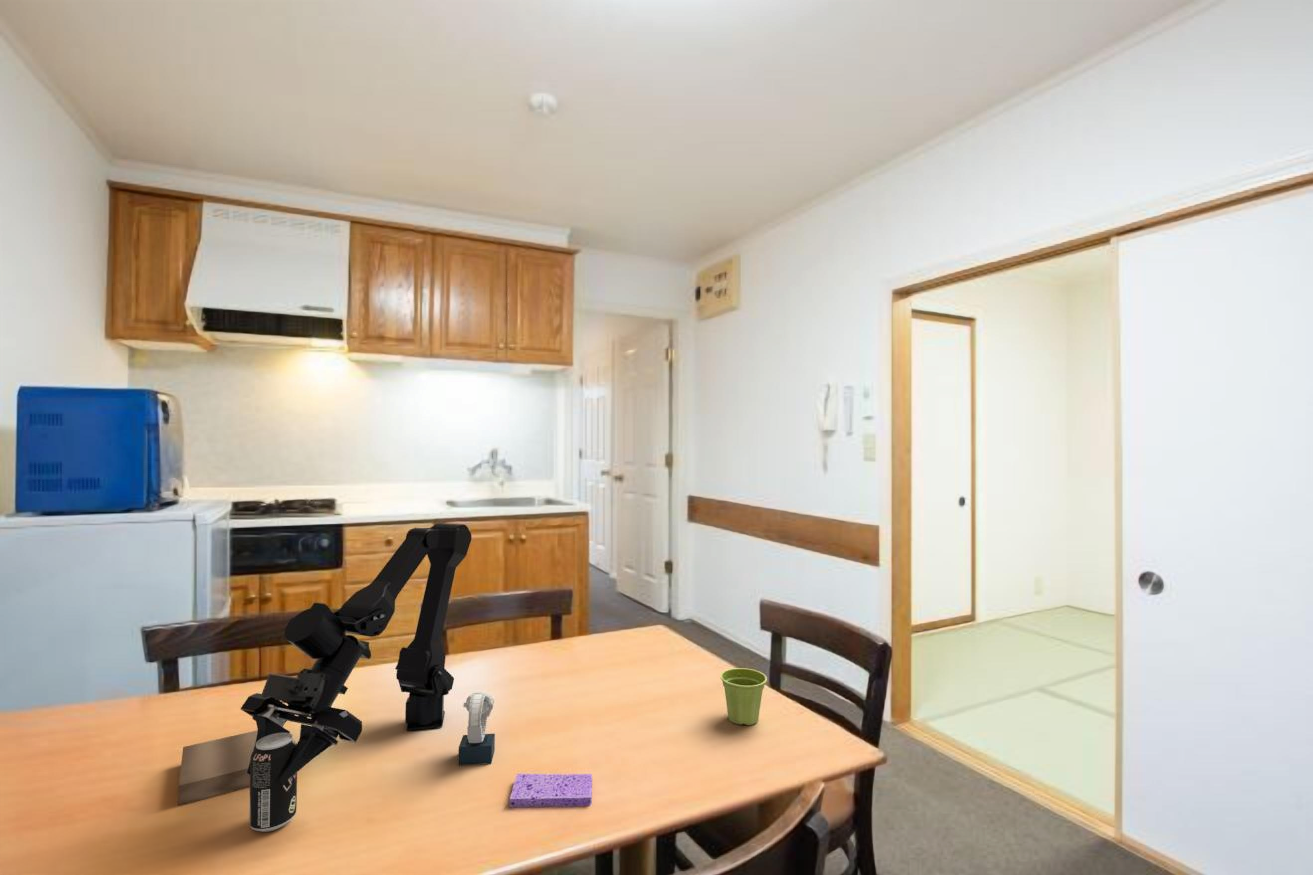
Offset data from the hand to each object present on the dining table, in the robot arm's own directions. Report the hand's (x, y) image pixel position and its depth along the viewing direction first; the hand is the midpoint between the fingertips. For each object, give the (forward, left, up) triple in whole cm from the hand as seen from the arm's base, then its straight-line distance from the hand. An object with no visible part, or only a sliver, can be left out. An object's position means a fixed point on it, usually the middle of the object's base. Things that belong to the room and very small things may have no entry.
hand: (264, 778), depth 85 cm
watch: (-29, -13, -7) cm, 32 cm away
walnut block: (+10, -18, -7) cm, 22 cm away
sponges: (-41, +1, -8) cm, 41 cm away
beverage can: (-1, -1, -7) cm, 7 cm away
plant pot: (-81, -16, -7) cm, 83 cm away
